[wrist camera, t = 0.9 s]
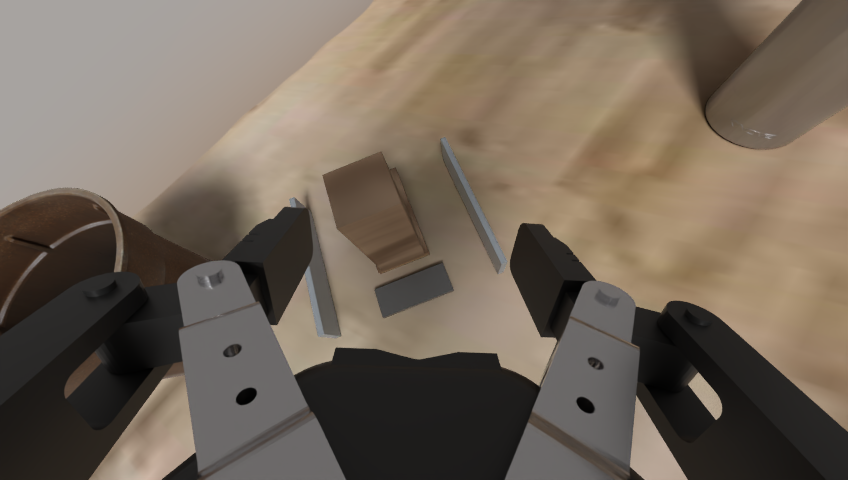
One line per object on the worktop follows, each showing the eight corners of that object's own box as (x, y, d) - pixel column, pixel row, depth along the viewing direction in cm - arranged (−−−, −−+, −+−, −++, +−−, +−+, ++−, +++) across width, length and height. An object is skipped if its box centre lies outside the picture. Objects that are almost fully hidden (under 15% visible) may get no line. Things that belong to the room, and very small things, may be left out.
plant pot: (292, 269, 36) (163, 210, 21) (227, 417, 31) (-3, 479, 16) (187, 239, 39) (13, 170, 24) (115, 367, 34) (-157, 379, 19)
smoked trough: (503, 272, 32) (507, 261, 28) (335, 338, 32) (318, 336, 28) (447, 157, 38) (445, 136, 34) (307, 214, 38) (289, 199, 34)
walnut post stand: (429, 254, 34) (407, 200, 22) (380, 274, 34) (330, 231, 22) (397, 171, 38) (363, 89, 26) (353, 189, 38) (300, 114, 26)
